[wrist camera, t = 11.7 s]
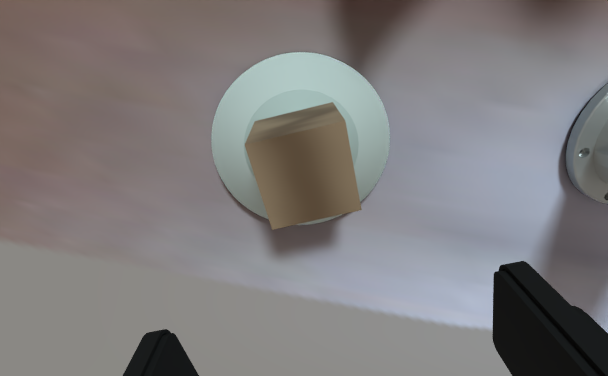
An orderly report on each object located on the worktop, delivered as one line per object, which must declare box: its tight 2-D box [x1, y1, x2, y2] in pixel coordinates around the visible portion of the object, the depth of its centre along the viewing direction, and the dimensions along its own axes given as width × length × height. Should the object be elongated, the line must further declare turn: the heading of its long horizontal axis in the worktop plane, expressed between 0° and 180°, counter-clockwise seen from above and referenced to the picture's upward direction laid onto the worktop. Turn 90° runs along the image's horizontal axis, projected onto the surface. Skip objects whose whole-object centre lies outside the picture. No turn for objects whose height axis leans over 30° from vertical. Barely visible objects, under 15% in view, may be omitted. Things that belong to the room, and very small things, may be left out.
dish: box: [211, 52, 390, 225], centre depth 26 cm, size 14×14×1 cm
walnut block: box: [245, 102, 361, 230], centre depth 22 cm, size 6×6×6 cm
